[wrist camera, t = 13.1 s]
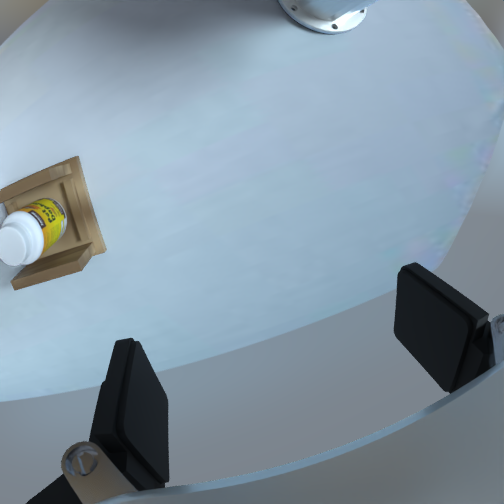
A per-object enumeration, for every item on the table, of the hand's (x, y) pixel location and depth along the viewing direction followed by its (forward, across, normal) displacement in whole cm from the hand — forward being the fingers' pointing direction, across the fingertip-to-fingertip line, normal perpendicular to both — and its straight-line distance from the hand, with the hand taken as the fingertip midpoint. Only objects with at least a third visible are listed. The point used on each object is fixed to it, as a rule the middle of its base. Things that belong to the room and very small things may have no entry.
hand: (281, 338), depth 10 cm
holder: (+28, +21, -2) cm, 35 cm away
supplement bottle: (+27, +21, -2) cm, 34 cm away
